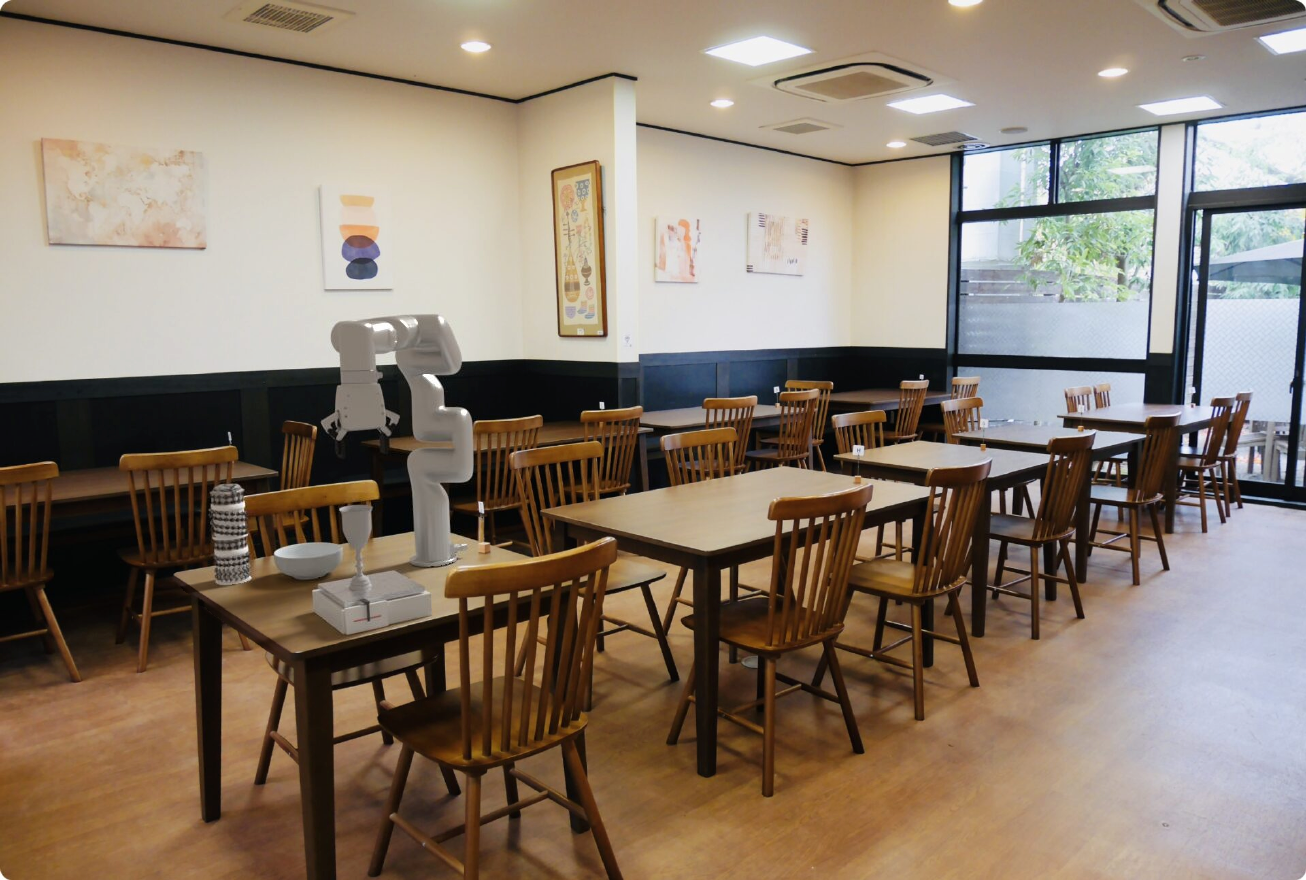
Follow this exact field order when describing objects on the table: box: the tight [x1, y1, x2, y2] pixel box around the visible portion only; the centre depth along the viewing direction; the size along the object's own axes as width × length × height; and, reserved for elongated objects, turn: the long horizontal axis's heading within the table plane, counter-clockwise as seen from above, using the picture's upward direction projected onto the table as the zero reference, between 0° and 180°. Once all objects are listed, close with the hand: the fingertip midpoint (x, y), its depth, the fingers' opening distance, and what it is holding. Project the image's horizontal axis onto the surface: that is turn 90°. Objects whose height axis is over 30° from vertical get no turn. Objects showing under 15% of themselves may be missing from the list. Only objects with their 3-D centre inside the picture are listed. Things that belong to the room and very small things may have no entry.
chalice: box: [338, 504, 373, 590], centre depth 207 cm, size 7×7×18 cm
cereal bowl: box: [273, 542, 344, 581], centre depth 242 cm, size 17×17×7 cm
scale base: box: [311, 588, 433, 635], centre depth 209 cm, size 20×21×6 cm
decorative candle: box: [207, 483, 252, 586], centre depth 237 cm, size 9×9×25 cm
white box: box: [317, 569, 426, 621], centre depth 208 cm, size 18×21×6 cm
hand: (363, 455), depth 206 cm, fingers open, 9 cm apart
